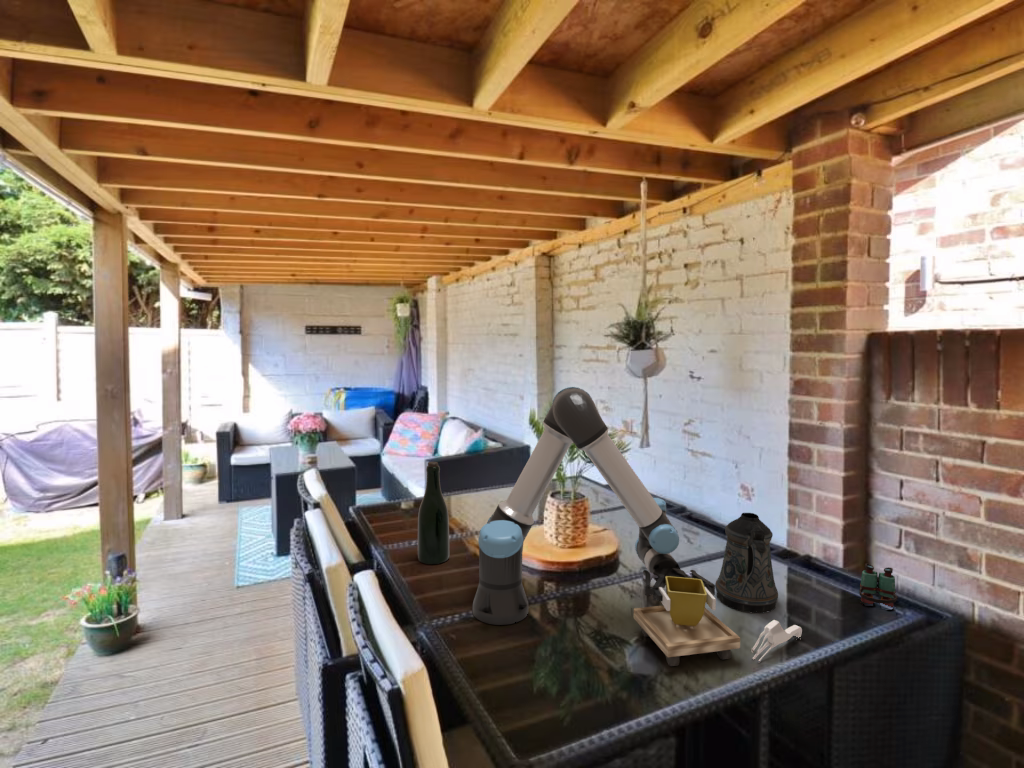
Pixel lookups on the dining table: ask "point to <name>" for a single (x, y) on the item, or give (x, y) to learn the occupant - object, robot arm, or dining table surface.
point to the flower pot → (686, 600)
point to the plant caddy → (686, 634)
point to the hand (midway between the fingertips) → (691, 604)
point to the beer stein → (747, 567)
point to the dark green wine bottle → (433, 521)
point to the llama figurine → (776, 636)
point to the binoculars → (884, 586)
